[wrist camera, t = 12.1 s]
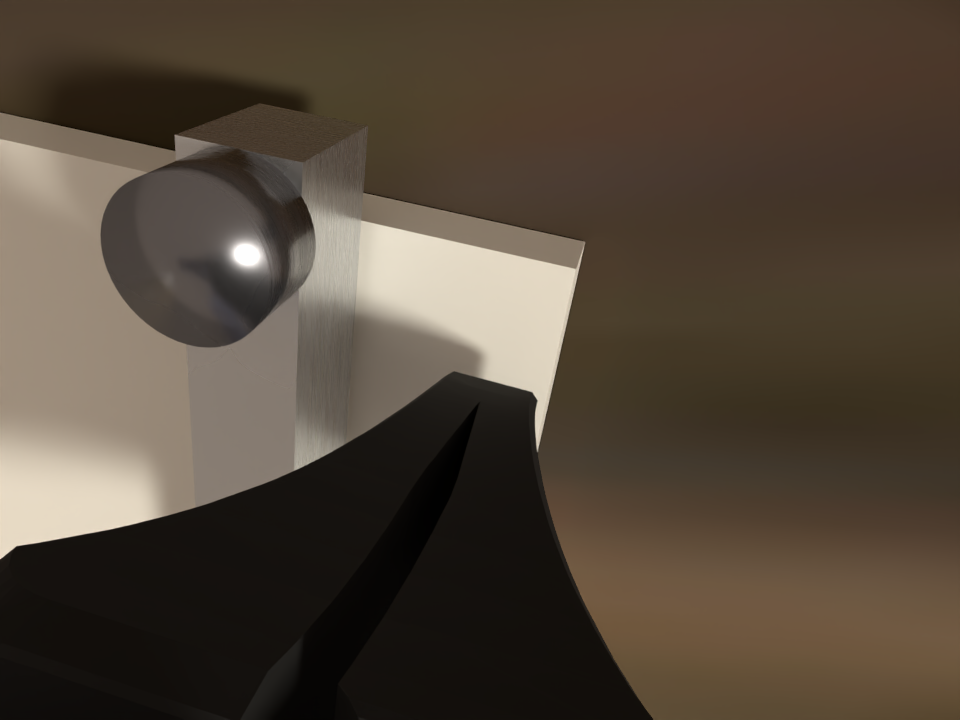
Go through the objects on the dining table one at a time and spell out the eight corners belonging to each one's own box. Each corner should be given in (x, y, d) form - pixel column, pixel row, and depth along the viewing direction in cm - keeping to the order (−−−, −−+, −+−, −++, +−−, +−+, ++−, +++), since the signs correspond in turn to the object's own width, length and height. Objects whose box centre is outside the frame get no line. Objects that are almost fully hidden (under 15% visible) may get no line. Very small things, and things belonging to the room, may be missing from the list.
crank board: (456, 808, 20) (441, 867, 19) (-13, 655, 22) (-56, 700, 21) (585, 241, 12) (573, 276, 11) (-169, 75, 14) (-255, 87, 13)
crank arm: (371, 708, 17) (307, 865, 14) (218, 660, 17) (125, 802, 14) (437, 140, 10) (345, 212, 8) (194, 89, 11) (22, 139, 8)
